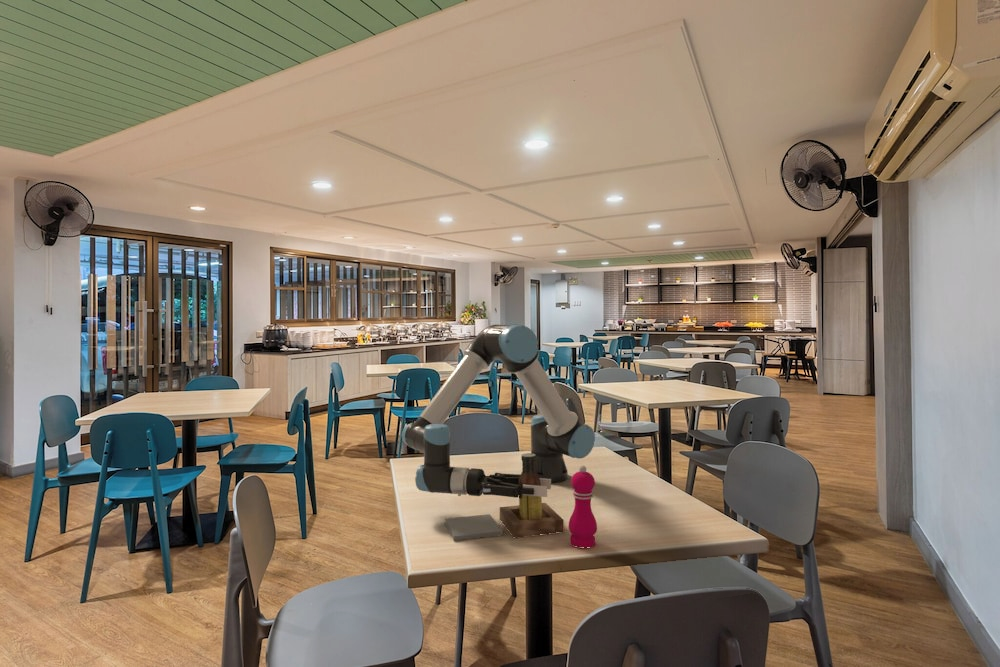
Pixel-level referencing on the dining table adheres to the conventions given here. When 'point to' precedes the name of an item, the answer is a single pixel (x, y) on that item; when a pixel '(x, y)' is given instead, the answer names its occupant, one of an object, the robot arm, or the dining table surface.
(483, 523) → the slate tile
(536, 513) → the sauce bottle
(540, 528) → the bottle holder
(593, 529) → the pepper mill
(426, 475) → the robot arm
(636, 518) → the dining table surface
